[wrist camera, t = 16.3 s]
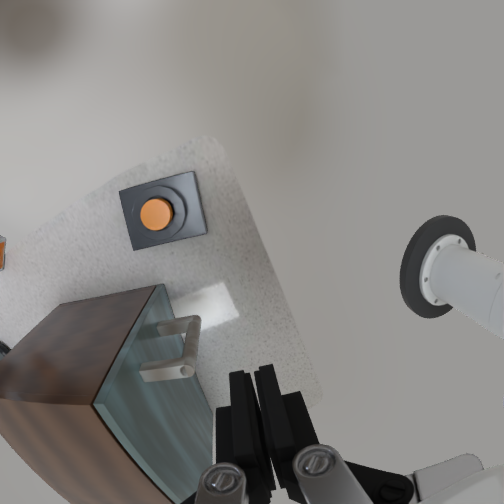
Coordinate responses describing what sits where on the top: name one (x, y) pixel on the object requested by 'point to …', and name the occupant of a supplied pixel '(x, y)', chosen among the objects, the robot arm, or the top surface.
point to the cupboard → (74, 402)
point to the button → (156, 214)
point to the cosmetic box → (2, 251)
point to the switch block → (181, 200)
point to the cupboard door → (160, 399)
